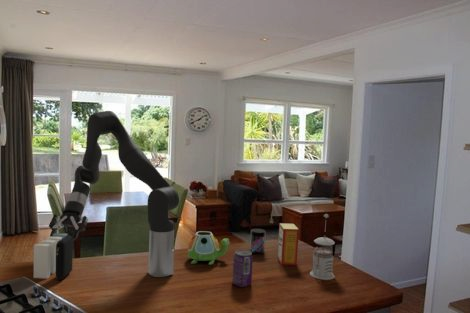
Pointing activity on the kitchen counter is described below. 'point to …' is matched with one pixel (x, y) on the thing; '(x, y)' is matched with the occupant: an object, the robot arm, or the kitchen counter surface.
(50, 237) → the ivory domino
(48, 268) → the ivory domino
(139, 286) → the kitchen counter surface
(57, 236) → the blue-grey rectangular block
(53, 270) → the ivory domino
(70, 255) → the carrying case or bag
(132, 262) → the kitchen counter surface
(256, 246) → the supplement container
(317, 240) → the french press
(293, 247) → the baking soda box
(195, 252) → the turtle holder
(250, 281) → the beverage can
